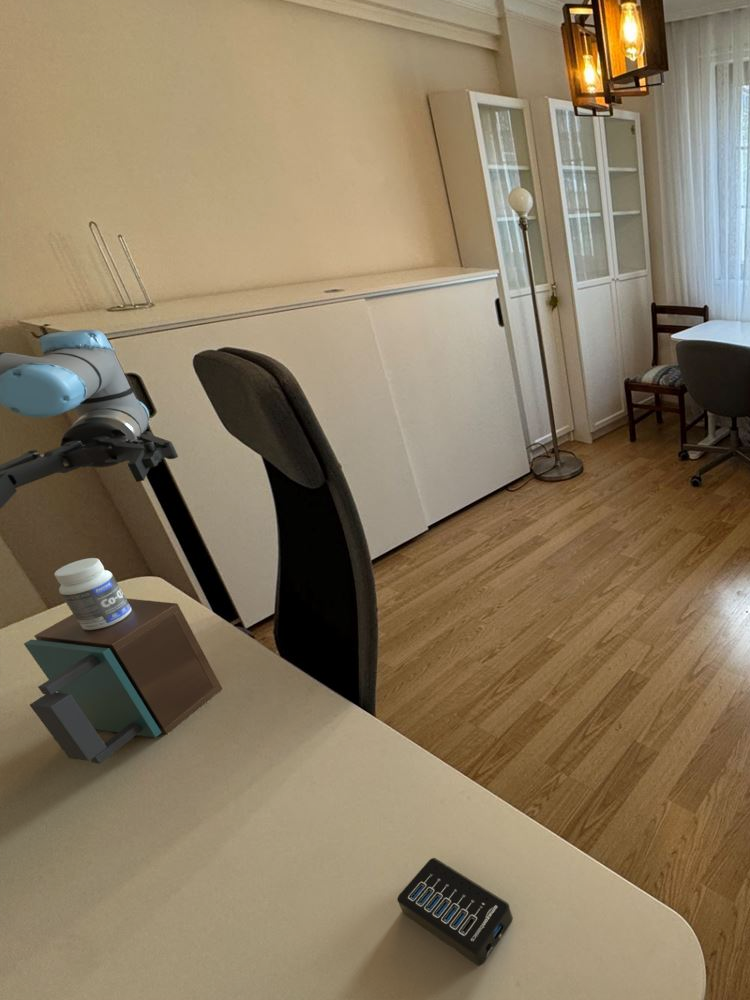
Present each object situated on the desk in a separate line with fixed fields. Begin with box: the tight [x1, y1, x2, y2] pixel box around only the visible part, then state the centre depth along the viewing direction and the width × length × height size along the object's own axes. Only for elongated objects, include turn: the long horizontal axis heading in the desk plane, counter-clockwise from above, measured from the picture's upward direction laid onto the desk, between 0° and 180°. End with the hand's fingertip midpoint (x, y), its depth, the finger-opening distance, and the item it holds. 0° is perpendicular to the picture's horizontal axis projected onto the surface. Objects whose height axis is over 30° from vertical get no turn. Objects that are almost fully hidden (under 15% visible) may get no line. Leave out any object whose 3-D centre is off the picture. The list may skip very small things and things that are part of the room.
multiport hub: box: [396, 857, 514, 966], centre depth 55 cm, size 4×11×2 cm, turn 65°
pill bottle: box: [53, 557, 132, 630], centre depth 72 cm, size 5×5×8 cm
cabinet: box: [33, 597, 223, 735], centre depth 77 cm, size 12×8×16 cm, turn 82°
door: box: [23, 639, 162, 764], centre depth 70 cm, size 12×7×15 cm, turn 82°
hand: (66, 486), depth 74 cm, fingers open, 13 cm apart
